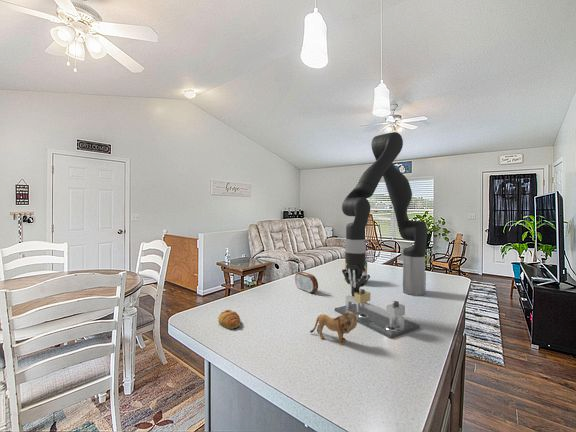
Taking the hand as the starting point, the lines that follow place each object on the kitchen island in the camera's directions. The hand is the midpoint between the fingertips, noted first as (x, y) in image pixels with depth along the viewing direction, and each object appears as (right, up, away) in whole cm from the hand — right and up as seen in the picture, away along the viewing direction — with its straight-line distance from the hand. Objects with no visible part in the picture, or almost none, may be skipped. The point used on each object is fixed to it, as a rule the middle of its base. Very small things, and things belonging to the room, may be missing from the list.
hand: (355, 296), depth 105 cm
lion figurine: (-11, -7, -21) cm, 25 cm away
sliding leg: (+2, -4, -3) cm, 6 cm away
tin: (-17, -5, +27) cm, 32 cm away
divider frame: (+4, -5, -7) cm, 9 cm away
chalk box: (+10, -5, +42) cm, 43 cm away
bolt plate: (+5, -6, -6) cm, 10 cm away
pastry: (-45, -7, -10) cm, 47 cm away
